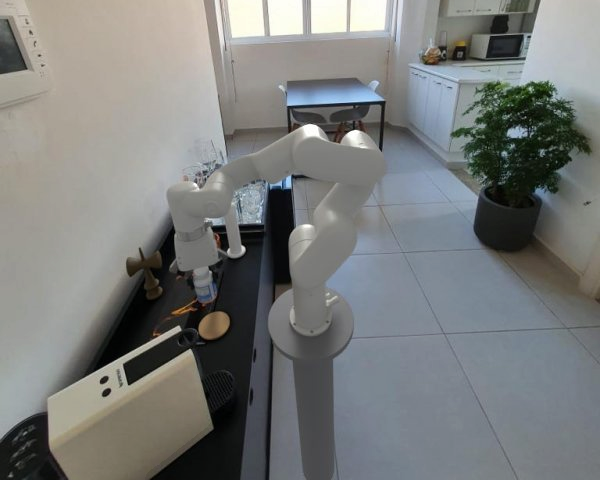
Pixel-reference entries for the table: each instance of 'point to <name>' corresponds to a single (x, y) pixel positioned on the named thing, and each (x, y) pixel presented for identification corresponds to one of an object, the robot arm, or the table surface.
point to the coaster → (214, 325)
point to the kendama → (146, 272)
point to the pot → (217, 240)
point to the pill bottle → (204, 285)
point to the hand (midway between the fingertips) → (204, 282)
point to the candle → (233, 233)
